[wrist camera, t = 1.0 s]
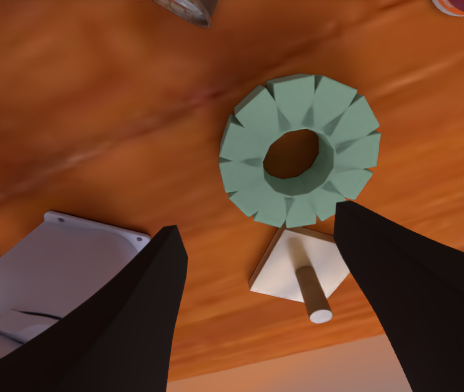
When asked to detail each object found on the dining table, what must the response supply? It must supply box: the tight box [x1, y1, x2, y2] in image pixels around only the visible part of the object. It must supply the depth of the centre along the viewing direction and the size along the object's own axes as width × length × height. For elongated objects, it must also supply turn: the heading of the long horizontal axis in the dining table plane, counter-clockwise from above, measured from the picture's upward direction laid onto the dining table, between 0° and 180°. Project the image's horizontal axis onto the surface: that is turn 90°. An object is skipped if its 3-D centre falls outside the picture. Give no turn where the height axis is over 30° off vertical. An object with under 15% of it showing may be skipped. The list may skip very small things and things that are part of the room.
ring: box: [219, 74, 381, 228], centre depth 17 cm, size 11×11×3 cm
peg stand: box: [249, 223, 350, 323], centre depth 22 cm, size 9×9×6 cm
